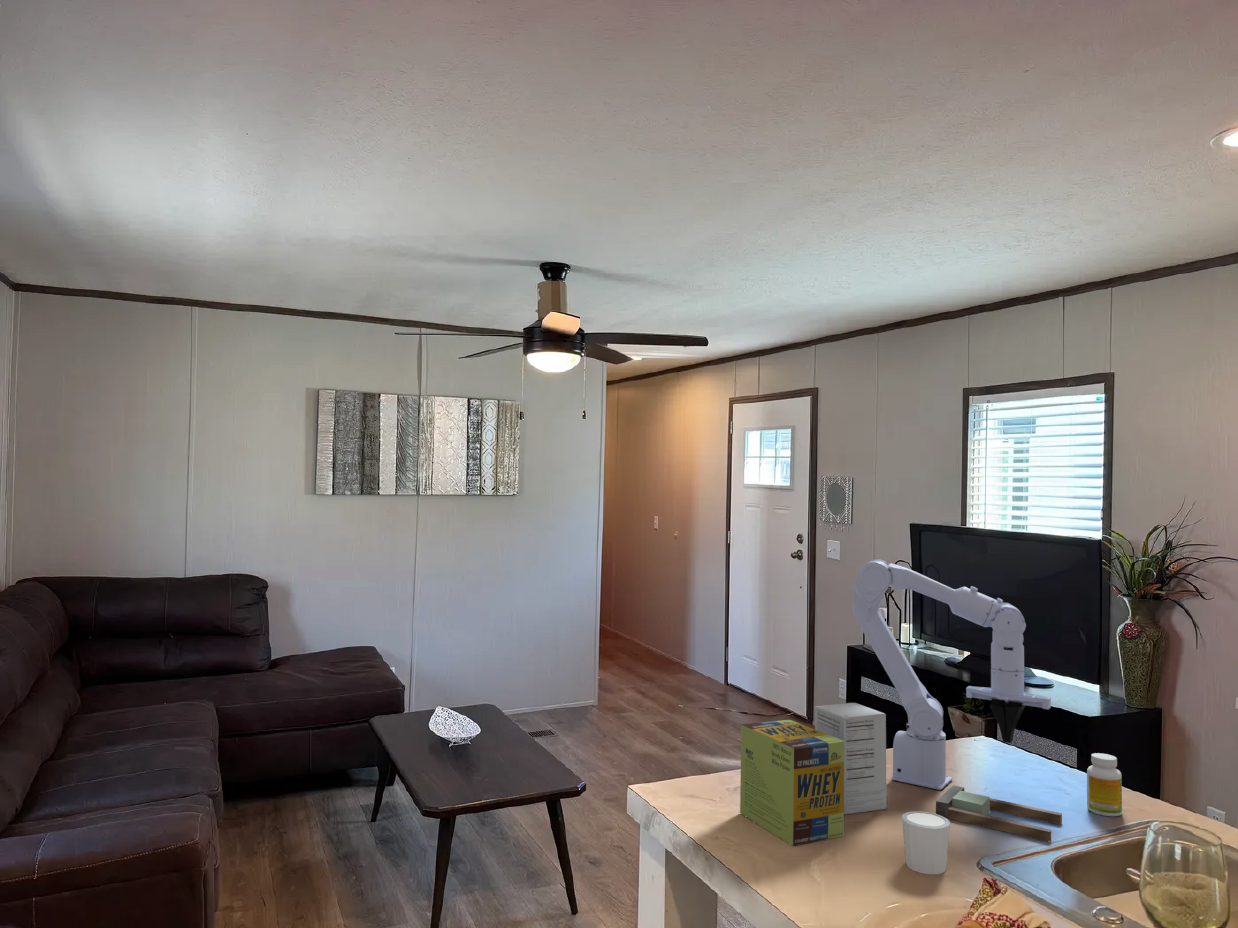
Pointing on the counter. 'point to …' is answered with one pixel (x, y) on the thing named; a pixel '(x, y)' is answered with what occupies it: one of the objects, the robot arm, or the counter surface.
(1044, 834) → the guide channel
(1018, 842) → the counter surface
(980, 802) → the block
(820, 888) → the counter surface
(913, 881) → the counter surface
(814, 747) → the protein box
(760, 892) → the counter surface
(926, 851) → the white cup
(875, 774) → the supplement box
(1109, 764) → the supplement bottle
